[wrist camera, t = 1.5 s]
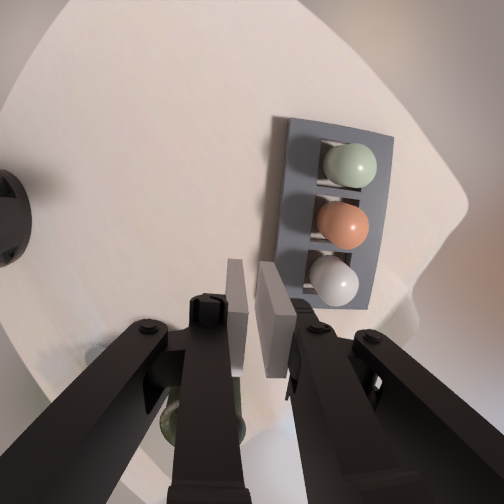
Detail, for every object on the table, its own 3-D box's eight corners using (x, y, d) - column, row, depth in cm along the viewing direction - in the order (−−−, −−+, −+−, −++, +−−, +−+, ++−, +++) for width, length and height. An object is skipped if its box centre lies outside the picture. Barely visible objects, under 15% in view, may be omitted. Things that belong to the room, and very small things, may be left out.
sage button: (320, 182, 38) (333, 184, 34) (324, 142, 37) (337, 139, 32) (358, 187, 39) (374, 190, 34) (362, 149, 38) (378, 147, 33)
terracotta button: (313, 238, 40) (324, 247, 35) (318, 198, 39) (330, 202, 34) (350, 241, 41) (365, 251, 36) (356, 203, 39) (371, 208, 35)
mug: (175, 401, 48) (165, 454, 36) (167, 325, 44) (149, 373, 33) (241, 403, 49) (245, 457, 37) (243, 326, 45) (247, 377, 33)
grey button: (306, 290, 42) (315, 305, 37) (311, 253, 41) (322, 264, 36) (341, 292, 42) (354, 307, 38) (348, 256, 41) (362, 267, 36)
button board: (268, 300, 44) (270, 306, 42) (288, 120, 38) (290, 117, 36) (362, 304, 45) (367, 309, 43) (387, 138, 39) (394, 137, 37)
